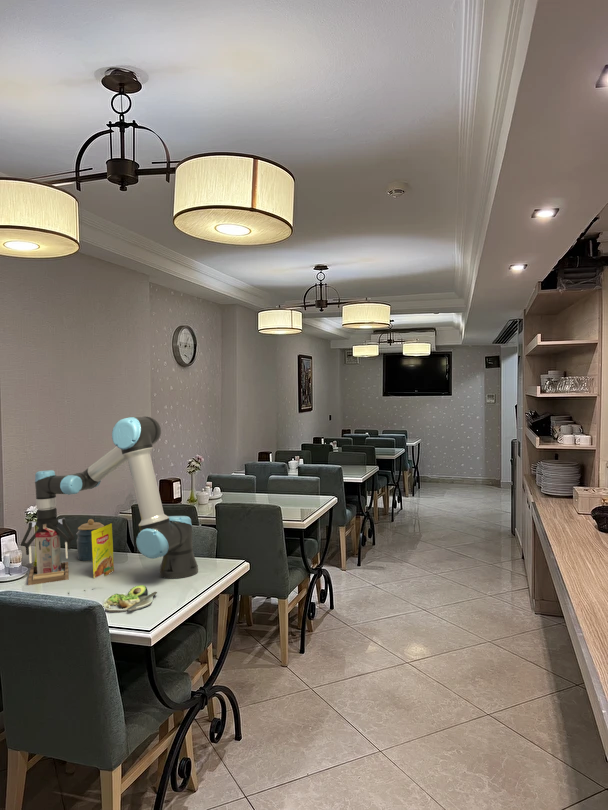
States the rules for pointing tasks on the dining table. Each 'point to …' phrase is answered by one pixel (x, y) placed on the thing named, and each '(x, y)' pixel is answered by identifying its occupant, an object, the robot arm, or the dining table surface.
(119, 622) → the dining table surface
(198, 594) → the dining table surface
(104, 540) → the food package
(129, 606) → the salad plate
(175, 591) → the dining table surface
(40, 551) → the juice carton
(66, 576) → the walnut rack
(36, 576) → the upper oak offcut
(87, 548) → the canister
